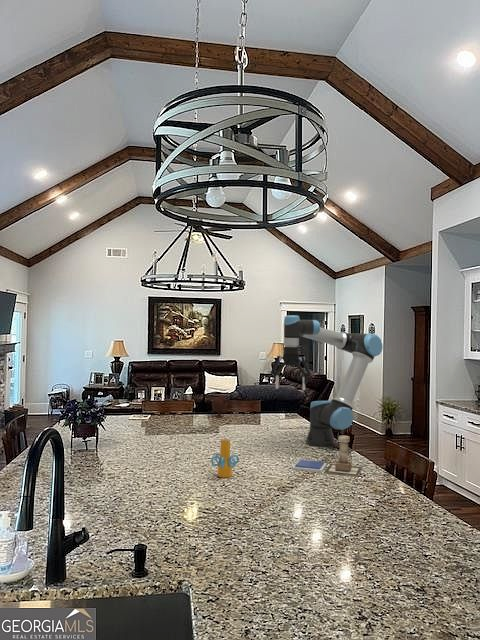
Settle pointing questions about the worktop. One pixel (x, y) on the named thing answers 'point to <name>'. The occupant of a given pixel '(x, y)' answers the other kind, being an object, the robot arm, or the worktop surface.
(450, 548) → the worktop surface
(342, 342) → the robot arm
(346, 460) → the stamp
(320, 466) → the ink pad
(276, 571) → the worktop surface
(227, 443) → the orange post with loops
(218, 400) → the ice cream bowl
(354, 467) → the marked board
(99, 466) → the worktop surface
